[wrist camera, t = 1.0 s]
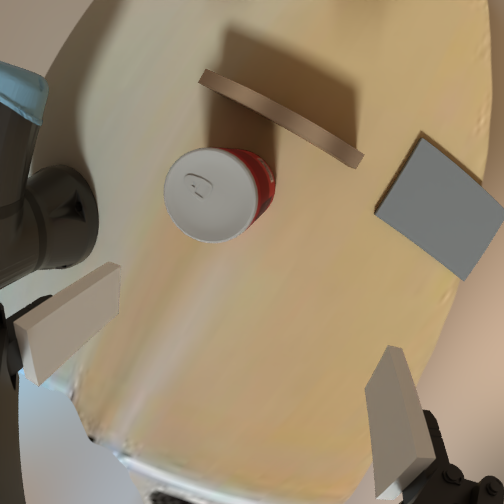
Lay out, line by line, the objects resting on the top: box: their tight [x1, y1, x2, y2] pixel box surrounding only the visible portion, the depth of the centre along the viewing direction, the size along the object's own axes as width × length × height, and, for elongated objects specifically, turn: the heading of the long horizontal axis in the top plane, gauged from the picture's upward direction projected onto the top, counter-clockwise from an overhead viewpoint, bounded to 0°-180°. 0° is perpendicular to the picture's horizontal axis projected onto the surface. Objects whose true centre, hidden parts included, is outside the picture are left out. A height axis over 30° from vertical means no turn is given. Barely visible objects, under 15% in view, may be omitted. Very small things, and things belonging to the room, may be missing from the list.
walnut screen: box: [198, 69, 364, 169], centre depth 29 cm, size 16×2×7 cm, turn 61°
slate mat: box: [374, 138, 504, 281], centre depth 31 cm, size 14×10×1 cm
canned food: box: [164, 147, 275, 243], centre depth 30 cm, size 8×8×11 cm
